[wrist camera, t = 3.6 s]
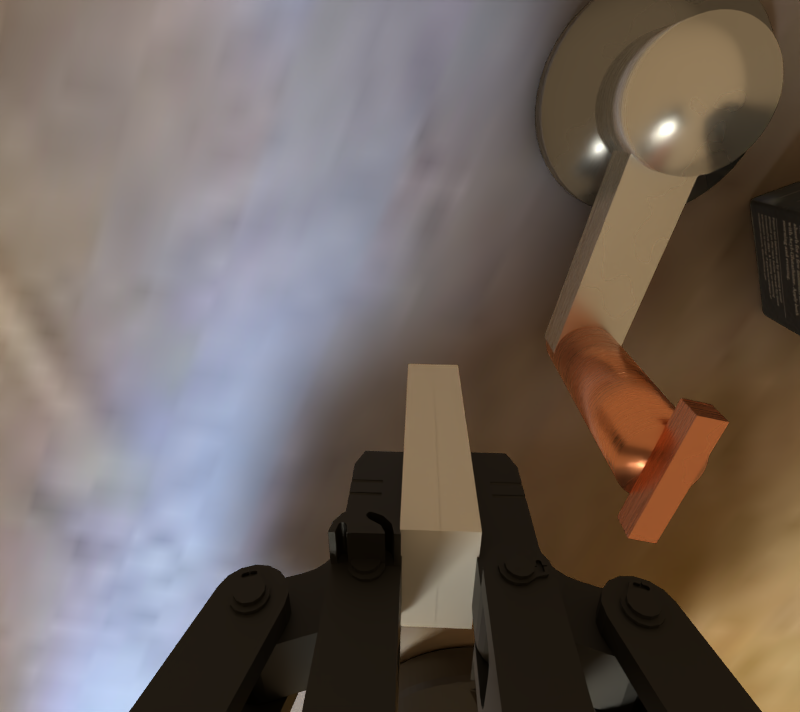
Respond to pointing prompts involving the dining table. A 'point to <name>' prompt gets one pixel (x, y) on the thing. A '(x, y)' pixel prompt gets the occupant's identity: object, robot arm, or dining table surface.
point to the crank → (655, 241)
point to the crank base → (581, 78)
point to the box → (779, 253)
